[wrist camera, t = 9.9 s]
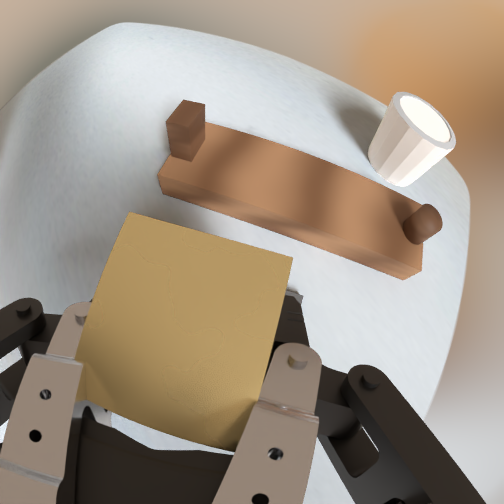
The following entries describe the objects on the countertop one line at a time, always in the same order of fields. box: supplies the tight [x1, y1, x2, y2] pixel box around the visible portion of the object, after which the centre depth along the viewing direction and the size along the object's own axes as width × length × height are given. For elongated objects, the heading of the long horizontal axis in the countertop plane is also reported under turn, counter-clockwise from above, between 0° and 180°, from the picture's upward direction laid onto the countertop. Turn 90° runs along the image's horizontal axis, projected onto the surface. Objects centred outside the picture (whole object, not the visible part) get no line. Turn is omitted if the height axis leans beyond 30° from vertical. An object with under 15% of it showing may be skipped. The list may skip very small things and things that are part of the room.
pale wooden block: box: [74, 212, 293, 452], centre depth 9 cm, size 4×4×9 cm
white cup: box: [368, 92, 456, 187], centre depth 22 cm, size 7×7×7 cm
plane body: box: [157, 100, 442, 280], centre depth 19 cm, size 20×6×6 cm, turn 72°
